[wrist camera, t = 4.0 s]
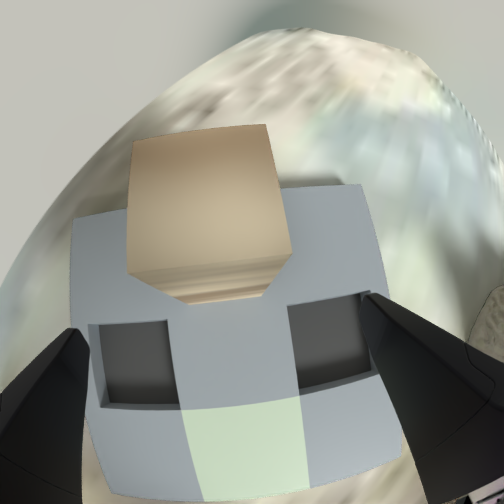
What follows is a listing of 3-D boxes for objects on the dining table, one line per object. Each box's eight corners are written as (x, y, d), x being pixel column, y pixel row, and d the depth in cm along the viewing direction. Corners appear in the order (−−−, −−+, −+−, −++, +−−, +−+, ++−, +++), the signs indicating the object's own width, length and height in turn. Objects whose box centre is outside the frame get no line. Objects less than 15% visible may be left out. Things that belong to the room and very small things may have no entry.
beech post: (260, 296, 17) (292, 253, 7) (189, 305, 16) (126, 273, 7) (250, 228, 18) (265, 123, 8) (183, 236, 18) (133, 141, 8)
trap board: (389, 448, 16) (400, 456, 14) (119, 482, 14) (111, 493, 12) (351, 195, 21) (361, 184, 19) (84, 227, 19) (73, 218, 18)
